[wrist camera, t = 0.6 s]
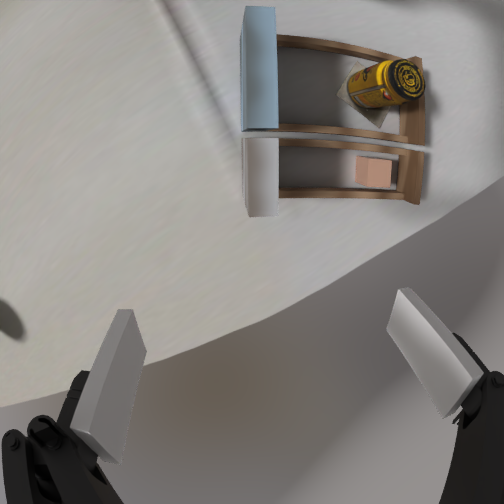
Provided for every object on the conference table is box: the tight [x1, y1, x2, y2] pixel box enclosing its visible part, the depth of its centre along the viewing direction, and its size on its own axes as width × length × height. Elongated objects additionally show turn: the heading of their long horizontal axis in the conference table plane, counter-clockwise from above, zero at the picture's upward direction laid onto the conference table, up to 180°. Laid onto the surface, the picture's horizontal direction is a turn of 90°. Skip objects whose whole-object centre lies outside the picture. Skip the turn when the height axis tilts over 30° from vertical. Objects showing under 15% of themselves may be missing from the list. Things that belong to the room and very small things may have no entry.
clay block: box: [355, 156, 392, 188], centre depth 37 cm, size 4×4×4 cm
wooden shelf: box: [240, 6, 425, 146], centre depth 28 cm, size 26×14×11 cm, turn 91°
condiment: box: [336, 59, 425, 128], centre depth 28 cm, size 7×8×12 cm
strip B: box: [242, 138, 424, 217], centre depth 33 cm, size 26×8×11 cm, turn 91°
